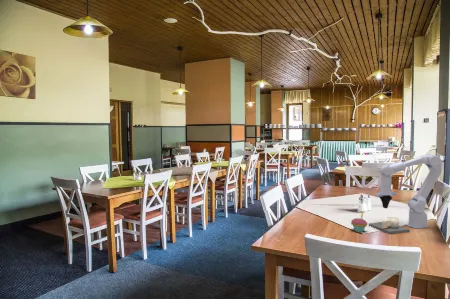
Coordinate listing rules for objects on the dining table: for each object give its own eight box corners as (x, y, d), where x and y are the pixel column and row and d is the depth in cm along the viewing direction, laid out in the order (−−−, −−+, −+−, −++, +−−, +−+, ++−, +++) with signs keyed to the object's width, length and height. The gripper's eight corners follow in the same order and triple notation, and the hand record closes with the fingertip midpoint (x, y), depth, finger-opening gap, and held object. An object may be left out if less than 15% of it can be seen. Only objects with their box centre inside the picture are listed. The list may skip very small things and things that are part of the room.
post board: (387, 223, 194) (387, 219, 194) (409, 231, 179) (409, 227, 178) (368, 225, 190) (368, 221, 190) (389, 234, 175) (389, 229, 174)
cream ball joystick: (391, 222, 186) (391, 216, 186) (400, 225, 181) (401, 219, 181) (378, 225, 181) (378, 219, 181) (388, 228, 176) (388, 222, 176)
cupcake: (369, 230, 181) (370, 210, 180) (363, 234, 175) (363, 213, 174) (354, 227, 187) (355, 207, 186) (348, 230, 181) (348, 210, 180)
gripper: (381, 187, 184) (381, 210, 185) (400, 186, 189) (400, 208, 190) (372, 185, 191) (371, 207, 192) (391, 184, 196) (390, 205, 197)
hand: (385, 207), depth 191 cm, fingers closed
